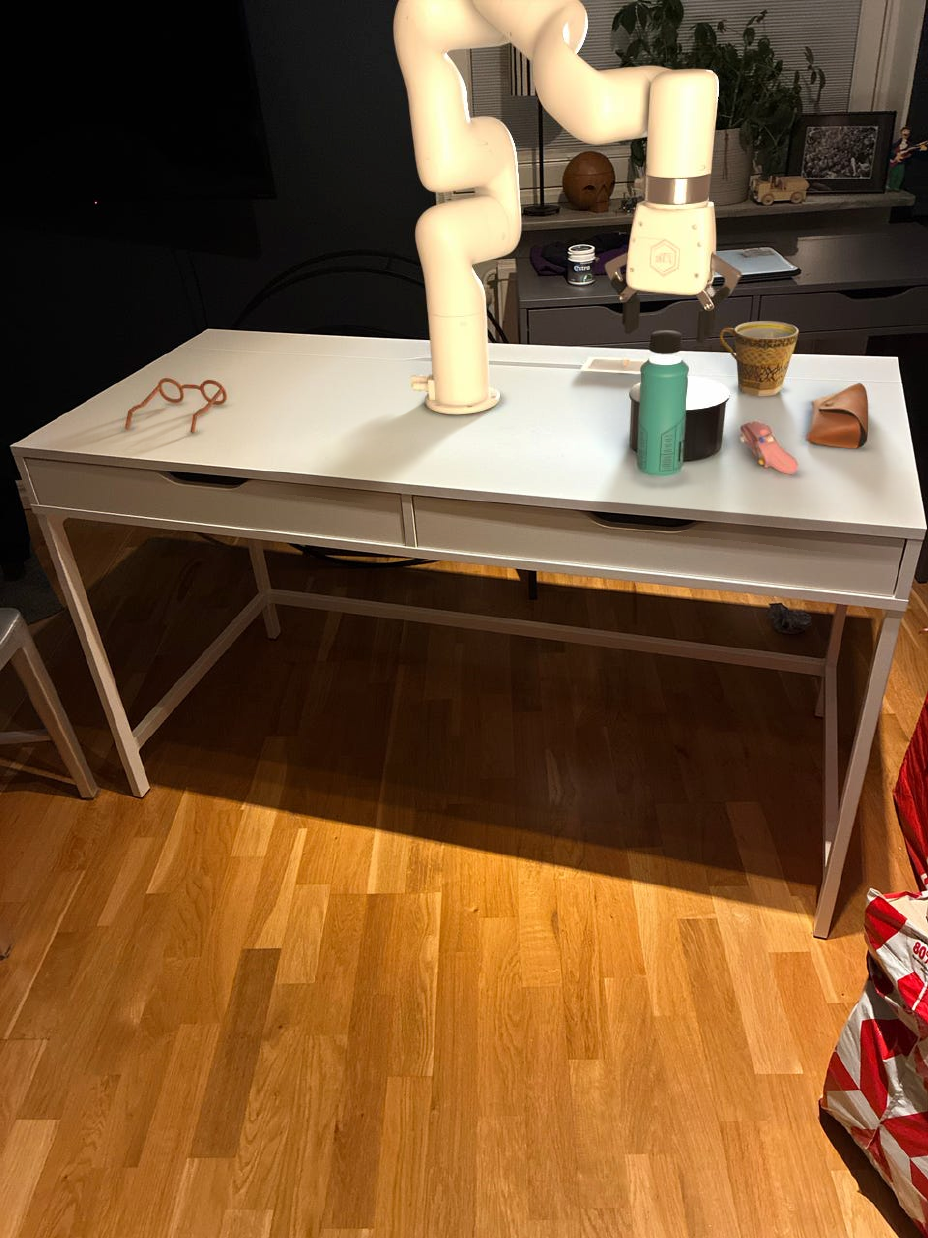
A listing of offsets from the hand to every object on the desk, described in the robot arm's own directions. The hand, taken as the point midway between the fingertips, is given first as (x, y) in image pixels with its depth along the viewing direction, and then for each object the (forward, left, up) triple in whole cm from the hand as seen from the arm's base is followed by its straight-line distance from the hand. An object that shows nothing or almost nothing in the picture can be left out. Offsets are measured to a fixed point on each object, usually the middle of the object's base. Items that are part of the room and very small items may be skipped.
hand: (666, 335), depth 120 cm
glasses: (-83, +11, -20) cm, 86 cm away
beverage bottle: (0, 0, -20) cm, 20 cm away
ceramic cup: (+11, +38, -20) cm, 44 cm away
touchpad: (-11, +44, -20) cm, 49 cm away
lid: (+1, +12, -12) cm, 17 cm away
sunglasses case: (+24, +23, -20) cm, 39 cm away
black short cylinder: (+1, +12, -20) cm, 23 cm away
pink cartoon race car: (+14, +7, -20) cm, 25 cm away
